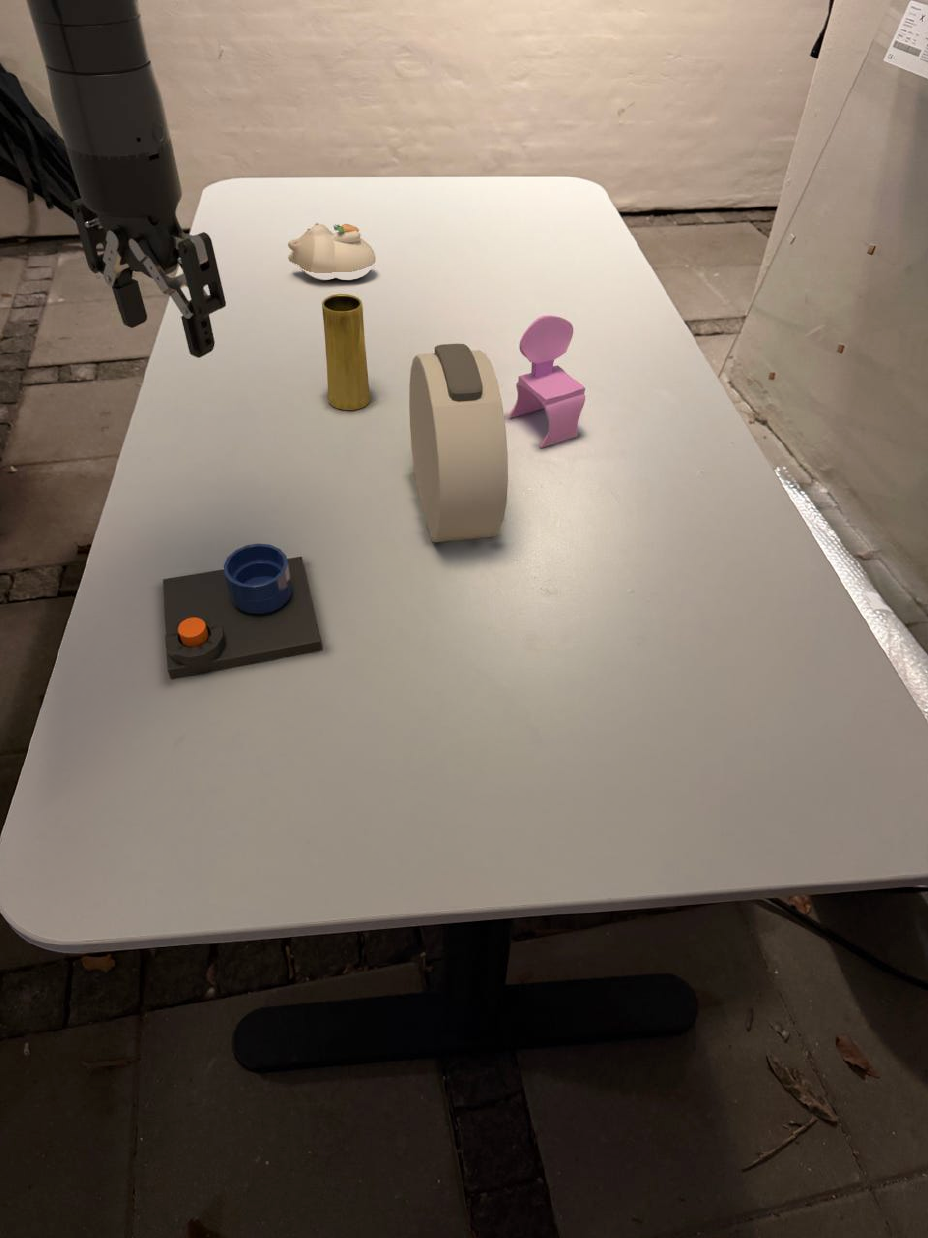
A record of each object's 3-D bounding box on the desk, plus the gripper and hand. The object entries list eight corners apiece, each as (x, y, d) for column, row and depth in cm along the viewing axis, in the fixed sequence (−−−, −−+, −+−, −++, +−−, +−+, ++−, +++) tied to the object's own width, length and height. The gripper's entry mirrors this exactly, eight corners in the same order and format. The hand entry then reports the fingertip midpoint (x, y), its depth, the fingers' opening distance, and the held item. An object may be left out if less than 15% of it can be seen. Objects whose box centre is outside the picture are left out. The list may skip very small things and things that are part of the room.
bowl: (234, 622, 80) (226, 591, 77) (229, 579, 84) (221, 549, 81) (296, 610, 81) (291, 580, 78) (288, 569, 85) (283, 539, 82)
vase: (371, 410, 110) (366, 313, 99) (328, 412, 109) (318, 314, 98) (369, 387, 114) (364, 291, 103) (327, 388, 113) (317, 292, 102)
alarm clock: (501, 558, 90) (517, 410, 76) (438, 565, 89) (442, 416, 74) (464, 450, 104) (471, 308, 89) (409, 455, 103) (407, 311, 88)
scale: (171, 680, 76) (163, 661, 74) (165, 587, 85) (159, 568, 83) (322, 651, 80) (319, 632, 77) (303, 565, 88) (300, 545, 86)
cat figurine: (377, 218, 132) (287, 209, 128) (379, 260, 130) (288, 252, 127) (371, 254, 141) (287, 247, 138) (373, 294, 139) (288, 288, 136)
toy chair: (536, 452, 104) (550, 349, 93) (501, 419, 109) (510, 317, 98) (585, 436, 108) (604, 334, 96) (549, 404, 112) (563, 304, 101)
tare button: (182, 649, 76) (178, 639, 75) (180, 630, 77) (177, 620, 76) (209, 644, 76) (206, 634, 75) (207, 625, 78) (204, 615, 77)
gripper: (12, 125, 58) (82, 330, 70) (142, 169, 53) (193, 382, 65) (94, 103, 62) (147, 300, 74) (222, 142, 57) (257, 346, 69)
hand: (169, 338), depth 70 cm, fingers open, 8 cm apart
